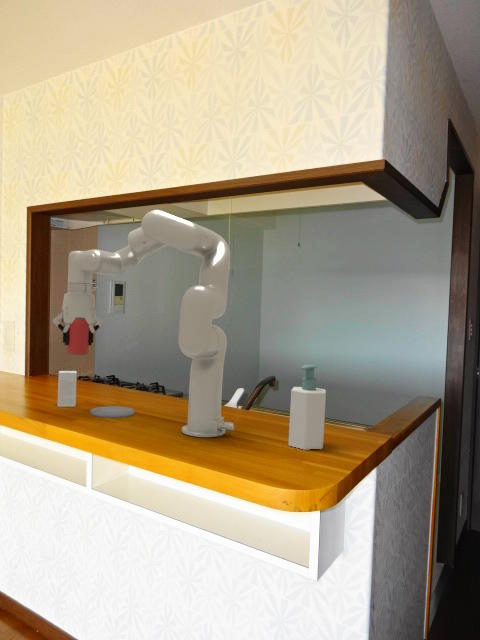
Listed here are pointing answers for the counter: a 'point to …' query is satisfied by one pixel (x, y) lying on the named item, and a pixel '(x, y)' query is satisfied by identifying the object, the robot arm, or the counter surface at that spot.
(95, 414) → the slate mat
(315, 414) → the soap bottle
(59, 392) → the skincare box
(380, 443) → the counter surface
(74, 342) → the beer can
